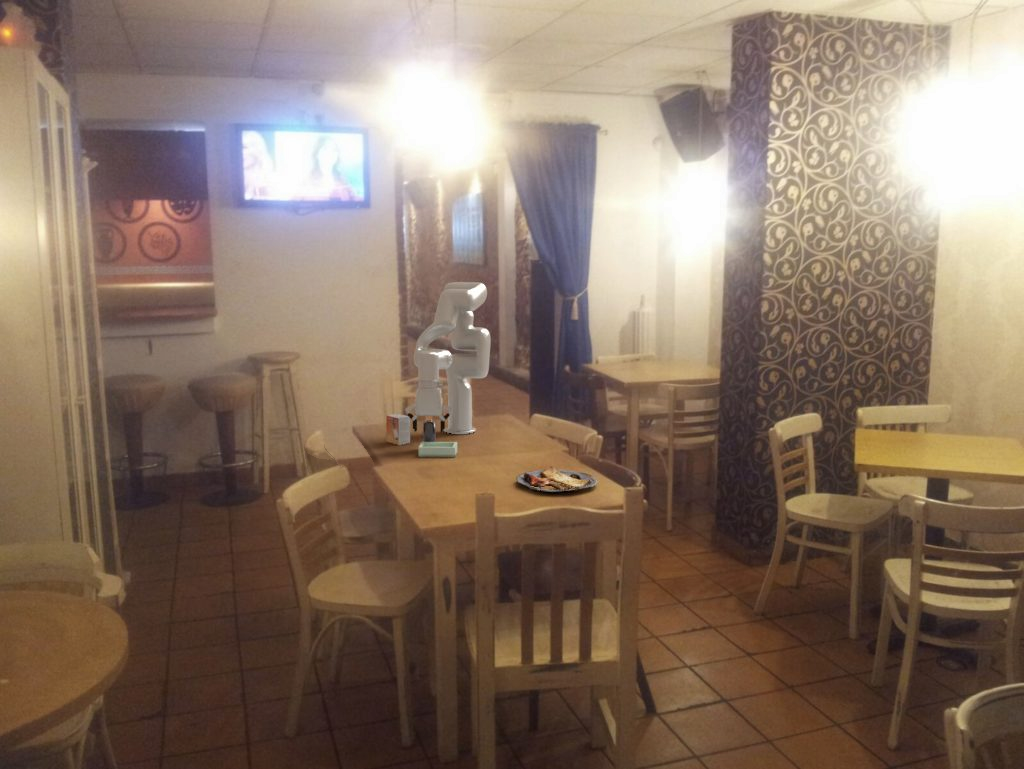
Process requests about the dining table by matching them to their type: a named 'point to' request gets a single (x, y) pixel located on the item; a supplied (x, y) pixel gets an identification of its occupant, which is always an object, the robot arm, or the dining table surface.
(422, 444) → the trough
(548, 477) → the food plate
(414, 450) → the dining table surface
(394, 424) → the small box
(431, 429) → the cylinder
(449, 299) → the robot arm
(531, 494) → the dining table surface
